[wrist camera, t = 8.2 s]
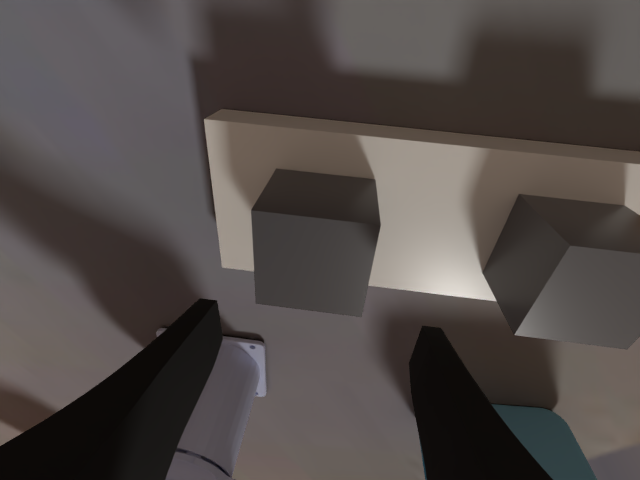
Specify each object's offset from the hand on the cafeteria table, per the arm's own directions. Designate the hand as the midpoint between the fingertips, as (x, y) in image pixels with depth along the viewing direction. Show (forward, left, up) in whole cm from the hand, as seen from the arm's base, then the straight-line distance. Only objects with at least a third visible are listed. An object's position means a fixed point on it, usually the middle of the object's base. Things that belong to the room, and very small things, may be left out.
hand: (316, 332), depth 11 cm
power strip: (+7, +1, -10) cm, 12 cm away
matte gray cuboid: (-1, +1, -10) cm, 10 cm away
